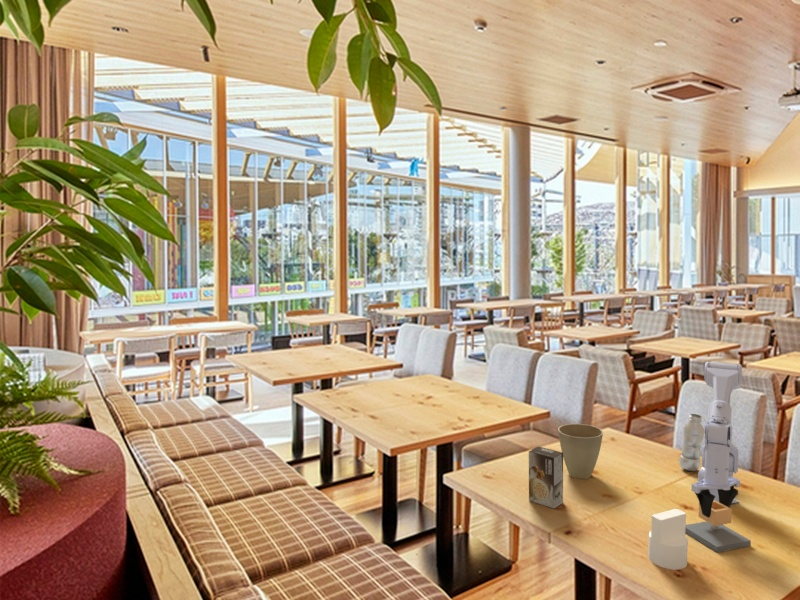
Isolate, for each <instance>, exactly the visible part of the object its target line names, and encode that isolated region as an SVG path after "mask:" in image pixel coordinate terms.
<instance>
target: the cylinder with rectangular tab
mask: <svg viewBox="0 0 800 600" xmlns="http://www.w3.org/2000/svg"><path fill="white" fill-rule="evenodd" d="M686 519H687V513H686V512H685V511H682V510H680V509H678V508H672V509H669V510H666V511H662V512H658V513H655V514H652V515H651V527H650V529H651V530H650V531H649V532H648V545H647V546H648V547H647V548H648V549H647V550H648V551H647V552H648V554H647V555H648V556H647V558H648V559H649V561H650V562H651V563H653V564H654V565H656V566H658V567H661V568H664V569H668V570H674V571H675V570H681V569H682V570H683V569H685V568H687V566H688V550H689V549H688V547H689V539H688V538H687V537H686V533H685V527H686V525H687V524H686V523H687V522H686V521H687V520H686Z"/></svg>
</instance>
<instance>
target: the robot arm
mask: <svg viewBox="0 0 800 600" xmlns="http://www.w3.org/2000/svg"><path fill="white" fill-rule="evenodd" d="M703 372H704V374H703V376H704V377H703V379H704V383H705V384H706V386H707V387H710V388H712V389H713V393H712V394H713V401H712V402H710V403H709V404H708V407H707V408H708V409H707V419H706V423H705V424H704V427H703V428H704V437H703V440H704V441H703V442H704V444H703V445H702V446H703V447H702V451H701V467H700V468H699V469H700V470H698V472H697V473H698V474H697V482H695V483H692V484H691V489H690V490H691V491H692V492H693V493H694V494H695V496H696V498H697V499H698V504H699V503H700V506H701V510H702V514H703V515H704V516H706V517H710V514H711V508H712V503H713V501H714V500H716V501H718V502H719V503H721V504H723V505H725V506H727V507H729V508H731V505H732V504H735V503H739V502H740V501H739V500H738V499H736V497H737V496H738V494H739V490H738V489H737V488H740V486H741V480H740V479H738V478H737V477H734V474H737V473H739V472H738V471H739V449H738V447H737V446H736V445H735V444H733V443H732V440H733V428H732V406H731V395H732V393H733V391H734V390H738V389H740V388H741V386H742V378H743V377H742V375H743V365H742V364H740V363H727V362H717V361H716V362H714V361H713V362H712V361H706V362H705V363H704V371H703ZM735 487H736V488H735Z"/></svg>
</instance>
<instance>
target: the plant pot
mask: <svg viewBox="0 0 800 600" xmlns="http://www.w3.org/2000/svg"><path fill="white" fill-rule="evenodd" d="M557 431H558V432H557V433H558V439H559V444H560V445H559V446H560V448H561V452H563V462H564V464H565V467H566V469H567V471H568V474H569V476H570V477H572V478H575V479H580V480H584V479H589V478H591V476H592V474H593V472H594V470H595V468H596V467H595V466H596V465H597V462H598V459H599V455H600V451H601V445H602V442H603V436H604V431H603V430H602V429H601V428H599V427H597V426H593V425H590V424H583V423H568V424H562V425H560V426H559V427H558V428H557Z"/></svg>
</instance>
